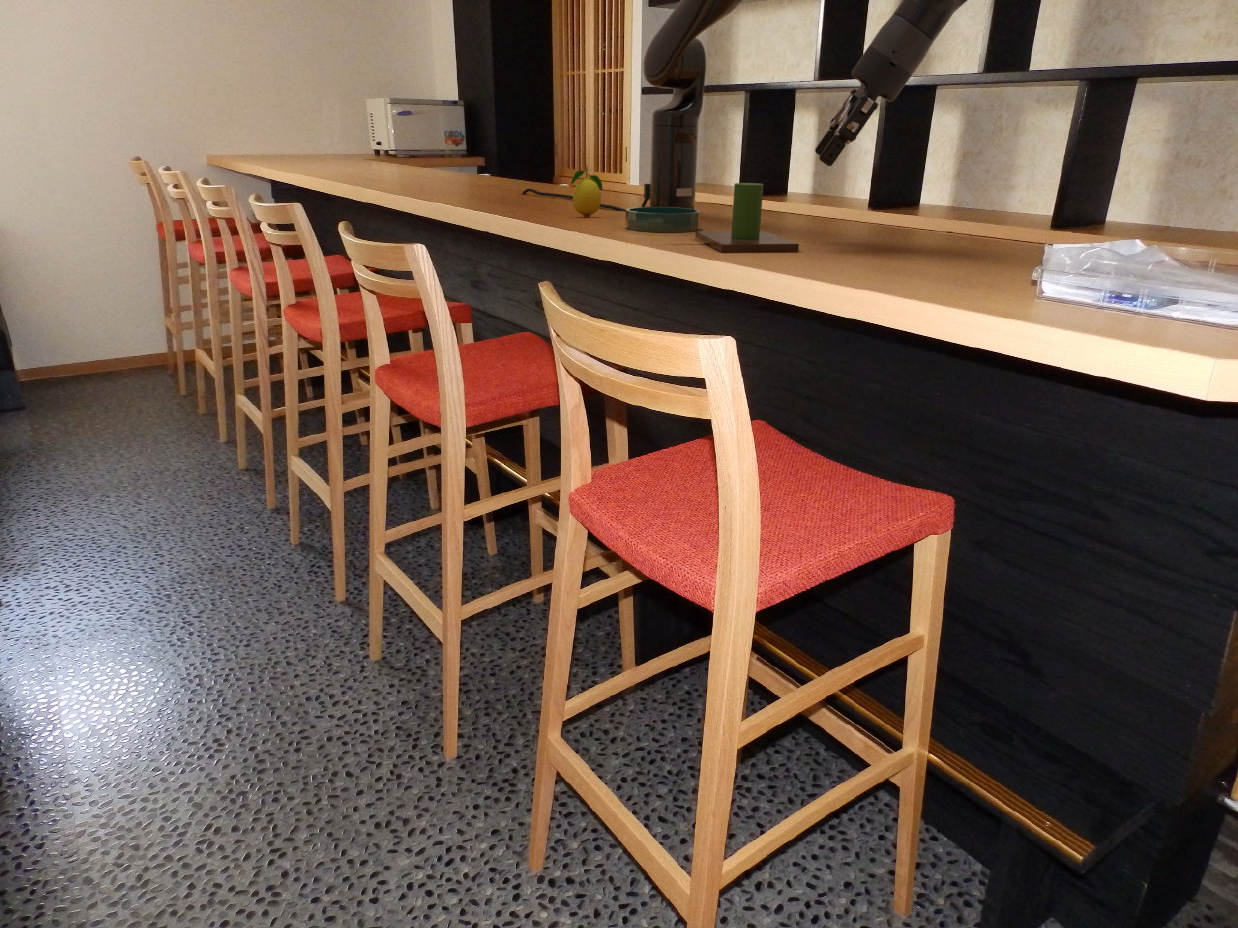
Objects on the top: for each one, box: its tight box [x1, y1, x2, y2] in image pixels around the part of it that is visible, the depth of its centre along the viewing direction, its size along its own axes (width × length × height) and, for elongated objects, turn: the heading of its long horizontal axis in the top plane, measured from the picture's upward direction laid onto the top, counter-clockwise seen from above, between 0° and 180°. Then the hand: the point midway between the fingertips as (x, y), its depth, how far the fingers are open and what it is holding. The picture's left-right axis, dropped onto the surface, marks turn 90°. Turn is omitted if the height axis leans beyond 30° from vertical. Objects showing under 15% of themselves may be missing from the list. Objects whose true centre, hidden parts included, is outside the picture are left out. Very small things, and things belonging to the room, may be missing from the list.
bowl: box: [624, 206, 702, 234], centre depth 149 cm, size 13×13×4 cm
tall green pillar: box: [731, 182, 764, 239], centre depth 131 cm, size 4×4×8 cm
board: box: [695, 230, 800, 253], centre depth 132 cm, size 16×12×1 cm
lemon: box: [570, 165, 603, 218], centre depth 165 cm, size 7×6×10 cm
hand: (821, 159), depth 128 cm, fingers open, 8 cm apart
